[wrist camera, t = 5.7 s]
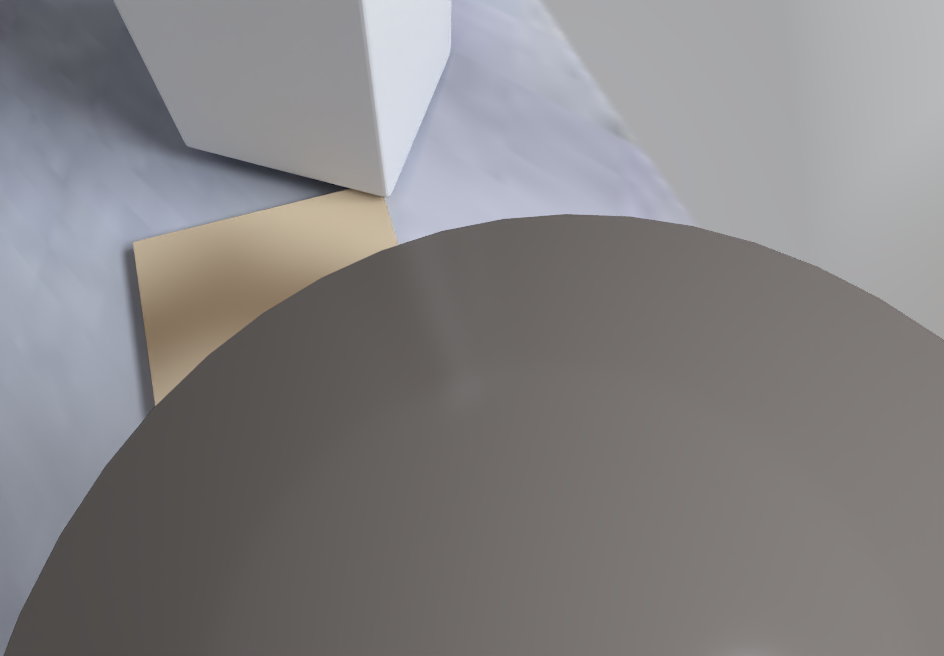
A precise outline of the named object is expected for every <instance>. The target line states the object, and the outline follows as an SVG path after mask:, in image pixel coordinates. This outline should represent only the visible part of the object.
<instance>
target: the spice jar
mask: <svg viewBox="0 0 944 656" xmlns="http://www.w3.org/2000/svg"><path fill="white" fill-rule="evenodd" d="M4 656H944V340H943V339H942V338H940V337H939V336H937V335H936V334H934V333H932V332H931V331H929V330H928V329H926V328H925V327H923V326H922V325H920V324H918V323H917V322H915V321H914V320H912V319H911V318H909V317H908V316H906V315H905V314H903V313H901V312H900V311H898V310H897V309H895V308H894V307H892V306H890V305H889V304H888V303H886V302H884V301H883V300H881V299H880V298H878V297H876V296H874V295H872V294H870V293H868V292H866V291H864V290H862V289H860V288H858V287H856V286H854V285H852V284H850V283H848V282H846V281H845V280H842V279H841V278H839V277H837V276H835V275H833V274H831V273H829V272H827V271H825V270H823V269H821V268H819V267H817V266H814V265H812V264H809V263H806V262H804V261H801V260H798V259H796V258H793V257H791V256H788V255H786V254H783V253H780V252H778V251H775V250H772V249H769V248H767V247H765V246H762V245H759V244H757V243H754V242H750V241H746V240H742V239H738V238H735V237H731V236H727V235H724V234H720V233H716V232H712V231H708V230H705V229H701V228H697V227H694V226H688V225H681V224H675V223H668V222H661V221H655V220H648V219H642V218H635V217H626V216H599V215H572V214H563V215H551V216H538V217H525V218H512V219H502V220H497V221H492V222H486V223H481V224H476V225H471V226H466V227H461V228H456V229H451V230H445V231H441V232H438V233H435V234H432V235H428V236H425V237H422V238H419V239H416V240H413V241H410V242H407V243H403V244H400V245H397V246H394V247H391V248H388V249H385V250H381V251H379V252H377V253H375V254H373V255H370V256H368V257H366V258H364V259H361V260H359V261H357V262H355V263H353V264H350V265H348V266H346V267H344V268H342V269H339V270H337V271H335V272H333V273H331V274H328V275H326V276H324V277H322V278H320V279H318V280H317V281H315V282H313V283H312V284H310V285H308V286H307V287H305V288H303V289H302V290H300V291H298V292H297V293H295V294H293V295H292V296H290V297H288V298H287V299H285V300H283V301H282V302H280V303H278V304H277V305H275V306H273V307H272V308H270V309H268V310H267V311H265V312H264V313H262V314H261V315H260V316H258V317H257V318H256V319H254V320H253V321H252V322H251V323H249V324H248V325H247V326H245V327H244V328H243V329H241V330H240V331H239V332H238V333H236V334H235V335H234V336H232V337H231V338H230V339H228V340H227V341H226V342H225V343H223V344H222V345H221V346H219V347H218V348H217V349H215V350H214V351H213V352H212V353H210V354H209V355H208V356H207V357H206V358H205V359H204V360H203V361H201V362H200V363H199V364H198V365H197V366H196V367H195V368H194V369H193V370H192V371H191V372H190V373H189V374H188V375H187V376H186V377H185V378H184V379H183V380H182V381H181V382H180V383H179V384H178V385H177V386H176V387H175V388H174V389H173V390H172V391H171V392H169V393H168V394H167V395H166V396H165V397H164V398H163V399H162V400H161V401H160V402H159V403H158V404H157V405H156V406H155V407H154V408H153V409H152V411H151V412H150V413H149V414H148V416H147V417H146V418H145V419H144V420H143V422H142V423H141V424H140V425H139V426H138V428H137V429H136V430H135V431H134V432H133V434H132V435H131V436H130V437H129V439H128V440H127V441H126V442H125V443H124V445H123V446H122V447H121V448H120V449H119V451H118V452H117V453H116V454H115V455H114V457H113V458H112V459H111V460H110V462H109V463H108V464H107V465H106V466H105V468H104V469H103V471H102V472H101V474H100V475H99V477H98V478H97V480H96V481H95V483H94V485H93V486H92V488H91V489H90V491H89V492H88V494H87V495H86V497H85V498H84V500H83V501H82V503H81V504H80V506H79V507H78V509H77V510H76V512H75V513H74V515H73V517H72V518H71V520H70V521H69V523H68V524H67V526H66V527H65V529H64V530H63V532H62V533H61V535H60V536H59V538H58V540H57V542H56V544H55V546H54V548H53V550H52V552H51V554H50V556H49V558H48V560H47V562H46V564H45V566H44V568H43V570H42V572H41V574H40V575H39V577H38V579H37V581H36V583H35V585H34V587H33V589H32V591H31V593H30V595H29V597H28V599H27V601H26V603H25V605H24V607H23V609H22V611H21V613H20V615H19V617H18V620H17V622H16V625H15V627H14V630H13V633H12V635H11V638H10V640H9V643H8V646H7V648H6V651H5V654H4Z"/></svg>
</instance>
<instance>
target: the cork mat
mask: <svg viewBox="0 0 944 656" xmlns="http://www.w3.org/2000/svg"><path fill="white" fill-rule="evenodd" d="M397 245H398V243H397V239H396V236H395V232H394V229H393V226H392V222H391V219H390V215H389V212H388V208H387V205H386V202H385V198H384V197H383V196H379V195H375V194H371V193H367V192H363V191H359V190H355V189H347V190H343V191H339V192H335V193H330V194H326V195H322V196H318V197H314V198H310V199H306V200H302V201H298V202H294V203H290V204H286V205H282V206H278V207H274V208H270V209H266V210H261V211H257V212H253V213H249V214H245V215H241V216H237V217H233V218H229V219H225V220H221V221H217V222H213V223H209V224H205V225H201V226H196V227H192V228H188V229H184V230H180V231H176V232H172V233H168V234H164V235H160V236H156V237H152V238H148V239H144V240H140V241H136V242H133V247H134V254H135V262H136V269H137V276H138V284H139V291H140V298H141V305H142V313H143V320H144V327H145V335H146V342H147V349H148V357H149V364H150V371H151V379H152V386H153V393H154V401H155V406H156V405H157V404H158V403H159V402H160V401H161V400H162V399H163V398H164V397H165V396H166V395H167V394H168V393H169V392H171V391H172V390H173V389H174V388H175V387H176V386H177V385H178V384H179V383H180V382H181V381H182V380H183V379H184V378H185V377H186V376H187V375H188V374H189V373H190V372H191V371H192V370H193V369H194V368H195V367H196V366H197V365H198V364H199V363H200V362H201V361H203V360H204V359H205V358H206V357H207V356H208V355H209V354H210V353H212V352H213V351H214V350H215V349H217V348H218V347H219V346H221V345H222V344H223V343H225V342H226V341H227V340H228V339H230V338H231V337H232V336H234V335H235V334H236V333H238V332H239V331H240V330H241V329H243V328H244V327H245V326H247V325H248V324H249V323H251V322H252V321H253V320H254V319H256V318H257V317H258V316H260V315H261V314H262V313H264V312H265V311H267V310H268V309H270V308H272V307H273V306H275V305H277V304H278V303H280V302H282V301H283V300H285V299H287V298H288V297H290V296H292V295H293V294H295V293H297V292H298V291H300V290H302V289H303V288H305V287H307V286H308V285H310V284H312V283H313V282H315V281H317V280H318V279H320V278H322V277H324V276H326V275H328V274H331V273H333V272H335V271H337V270H339V269H342V268H344V267H346V266H348V265H350V264H353V263H355V262H357V261H359V260H361V259H364V258H366V257H368V256H370V255H373V254H375V253H377V252H379V251H381V250H385V249H388V248H391V247H394V246H397Z"/></svg>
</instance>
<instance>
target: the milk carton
mask: <svg viewBox="0 0 944 656" xmlns="http://www.w3.org/2000/svg"><path fill="white" fill-rule="evenodd" d="M113 1H114V3H115V5H116V7H117V9H118V11H119V13H120V15H121V17H122V19H123V21H124V23H125V25H126V27H127V29H128V31H129V33H130V35H131V37H132V39H133V41H134V43H135V45H136V47H137V49H138V51H139V53H140V55H141V57H142V59H143V61H144V63H145V65H146V67H147V69H148V71H149V73H150V75H151V77H152V79H153V81H154V83H155V85H156V87H157V89H158V91H159V93H160V95H161V97H162V99H163V101H164V103H165V105H166V107H167V109H168V111H169V113H170V115H171V117H172V119H173V121H174V123H175V125H176V127H177V129H178V131H179V133H180V135H181V137H182V139H183V141H184V142H185V144H186V146H188V147H191V148H195V149H199V150H203V151H207V152H210V153H214V154H218V155H222V156H226V157H230V158H234V159H238V160H242V161H245V162H249V163H253V164H257V165H261V166H265V167H269V168H273V169H277V170H281V171H284V172H288V173H292V174H296V175H300V176H304V177H308V178H312V179H316V180H320V181H324V182H328V183H331V184H335V185H339V186H343V187H347V188H351V189H355V190H359V191H363V192H367V193H371V194H375V195H379V196H383V197H389V196H390V195H391V193H392V191H393V189H394V187H395V184H396V182H397V180H398V177H399V175H400V173H401V170H402V168H403V165H404V163H405V161H406V158H407V156H408V153H409V151H410V149H411V146H412V144H413V142H414V139H415V137H416V134H417V132H418V130H419V127H420V125H421V122H422V120H423V118H424V115H425V113H426V110H427V108H428V106H429V103H430V101H431V98H432V96H433V94H434V91H435V89H436V87H437V84H438V82H439V79H440V77H441V75H442V72H443V70H444V67H445V65H446V62H447V60H448V57H449V54H450V49H451V0H113Z"/></svg>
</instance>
